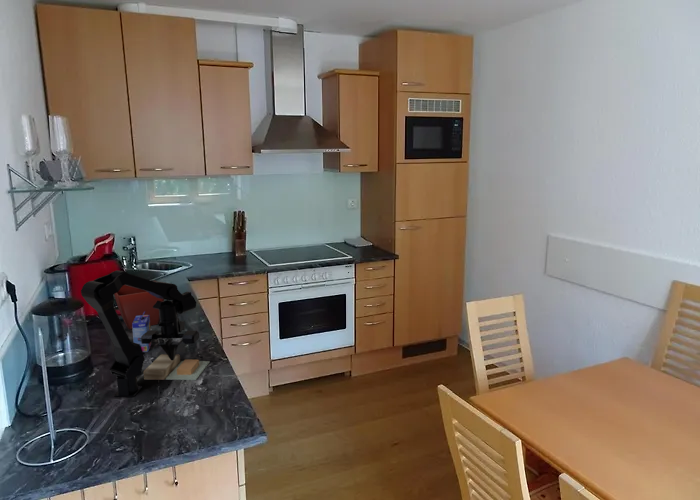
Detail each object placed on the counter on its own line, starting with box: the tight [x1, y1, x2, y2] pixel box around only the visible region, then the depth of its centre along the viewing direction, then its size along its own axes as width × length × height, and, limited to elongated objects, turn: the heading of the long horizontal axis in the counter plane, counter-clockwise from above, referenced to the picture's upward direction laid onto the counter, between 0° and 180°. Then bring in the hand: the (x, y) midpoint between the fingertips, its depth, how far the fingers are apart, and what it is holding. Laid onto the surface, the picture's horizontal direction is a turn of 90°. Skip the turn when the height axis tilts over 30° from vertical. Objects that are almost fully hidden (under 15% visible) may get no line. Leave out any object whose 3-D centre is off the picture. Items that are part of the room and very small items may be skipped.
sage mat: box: [165, 360, 210, 381], centre depth 173 cm, size 14×10×1 cm
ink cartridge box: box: [132, 312, 152, 353], centre depth 192 cm, size 10×6×14 cm, turn 15°
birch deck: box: [143, 353, 181, 381], centre depth 173 cm, size 14×7×3 cm, turn 177°
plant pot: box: [114, 285, 165, 330], centre depth 220 cm, size 19×19×17 cm
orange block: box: [177, 359, 200, 375], centre depth 173 cm, size 8×5×2 cm, turn 178°
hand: (172, 359), depth 173 cm, fingers closed
